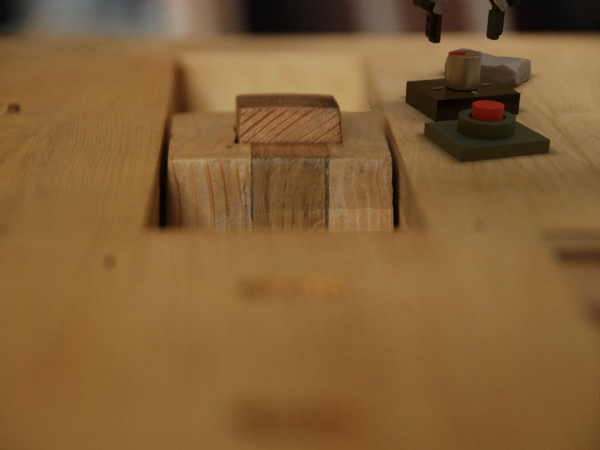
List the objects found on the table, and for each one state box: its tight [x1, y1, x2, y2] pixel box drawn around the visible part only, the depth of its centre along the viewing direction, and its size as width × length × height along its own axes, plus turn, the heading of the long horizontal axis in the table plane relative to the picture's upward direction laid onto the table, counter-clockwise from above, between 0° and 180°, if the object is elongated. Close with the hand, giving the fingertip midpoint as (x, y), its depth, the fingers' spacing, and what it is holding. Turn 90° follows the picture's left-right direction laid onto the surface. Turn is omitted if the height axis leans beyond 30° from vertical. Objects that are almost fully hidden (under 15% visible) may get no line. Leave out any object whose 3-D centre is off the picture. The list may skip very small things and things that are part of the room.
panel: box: [405, 75, 521, 122], centre depth 111 cm, size 12×10×3 cm
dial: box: [445, 49, 482, 91], centre depth 109 cm, size 4×4×5 cm
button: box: [471, 100, 504, 122], centre depth 94 cm, size 4×4×2 cm
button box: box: [423, 109, 551, 163], centre depth 95 cm, size 11×10×4 cm
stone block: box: [444, 47, 532, 89], centre depth 126 cm, size 12×5×10 cm
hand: (463, 40), depth 107 cm, fingers open, 8 cm apart
